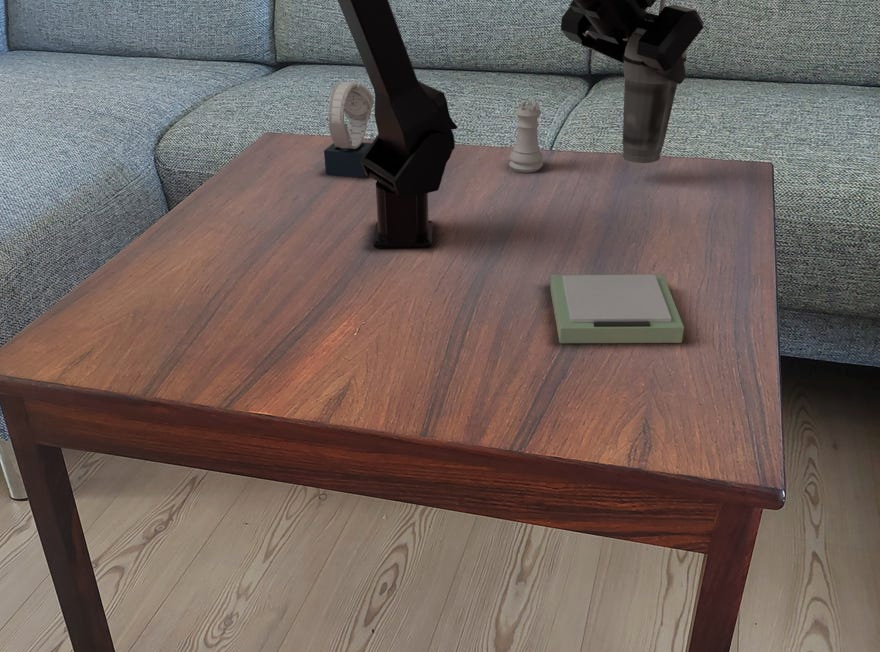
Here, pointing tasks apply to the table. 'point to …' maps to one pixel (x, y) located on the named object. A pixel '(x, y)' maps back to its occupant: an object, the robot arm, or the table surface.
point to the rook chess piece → (527, 140)
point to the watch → (347, 145)
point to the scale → (615, 309)
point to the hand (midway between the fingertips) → (661, 73)
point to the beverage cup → (645, 106)
